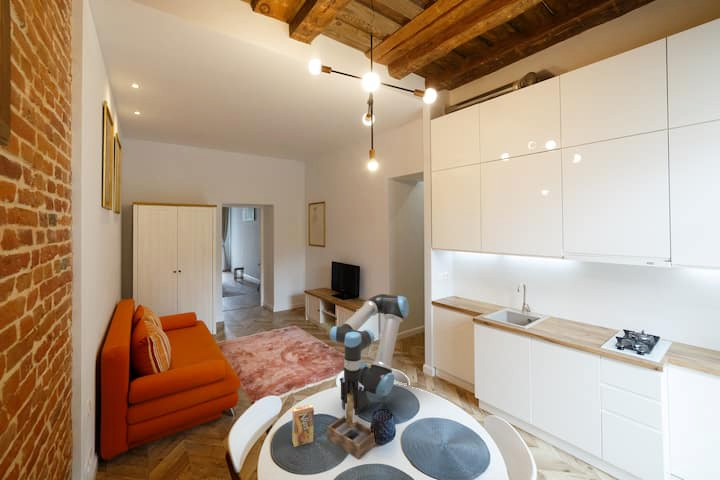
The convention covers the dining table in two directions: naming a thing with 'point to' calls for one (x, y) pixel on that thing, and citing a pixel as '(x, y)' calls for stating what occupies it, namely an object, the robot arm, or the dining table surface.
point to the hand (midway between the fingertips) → (351, 419)
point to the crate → (361, 433)
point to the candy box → (302, 425)
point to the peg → (350, 410)
